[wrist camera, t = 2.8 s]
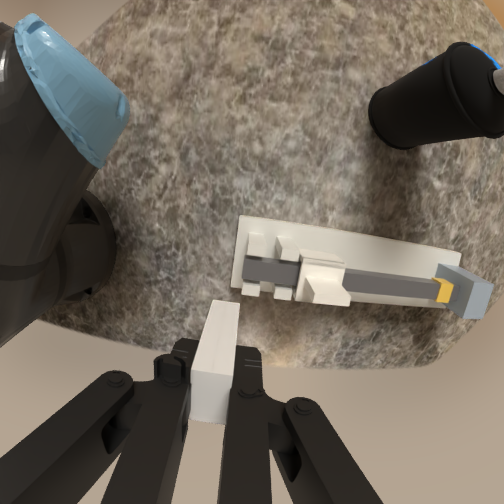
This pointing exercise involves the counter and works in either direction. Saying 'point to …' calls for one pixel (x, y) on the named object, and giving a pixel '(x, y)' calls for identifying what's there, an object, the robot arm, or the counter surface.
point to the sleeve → (320, 279)
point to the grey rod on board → (356, 267)
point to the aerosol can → (442, 100)
